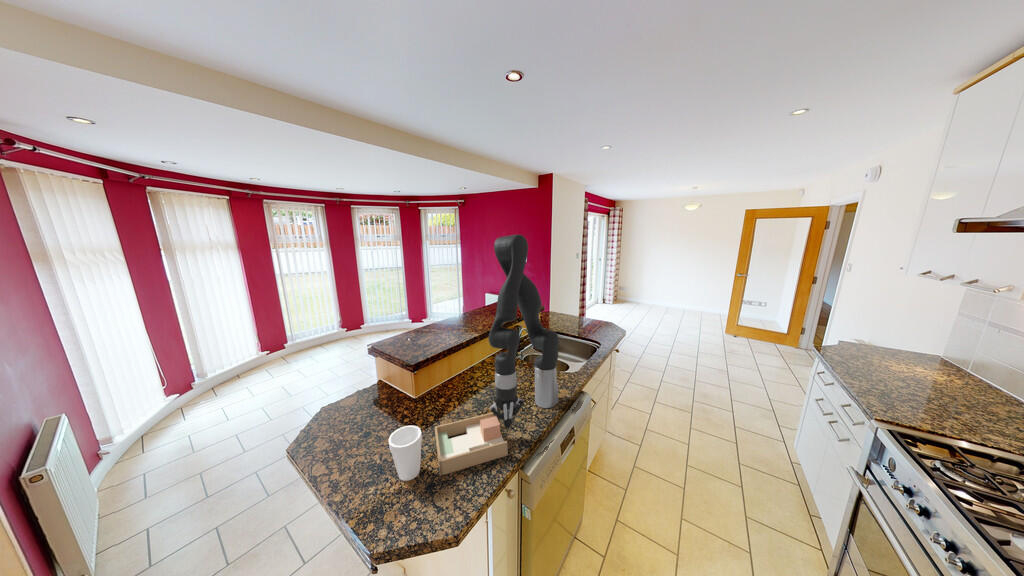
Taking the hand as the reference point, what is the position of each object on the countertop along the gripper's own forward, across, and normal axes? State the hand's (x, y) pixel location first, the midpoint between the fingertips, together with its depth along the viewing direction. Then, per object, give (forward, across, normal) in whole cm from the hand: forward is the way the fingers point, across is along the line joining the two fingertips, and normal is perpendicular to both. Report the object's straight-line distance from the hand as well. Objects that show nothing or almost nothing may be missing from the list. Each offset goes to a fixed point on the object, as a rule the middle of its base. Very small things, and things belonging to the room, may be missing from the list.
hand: (507, 426), depth 101 cm
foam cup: (+4, +34, +3) cm, 34 cm away
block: (+2, +6, 0) cm, 7 cm away
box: (+4, +14, 0) cm, 14 cm away
